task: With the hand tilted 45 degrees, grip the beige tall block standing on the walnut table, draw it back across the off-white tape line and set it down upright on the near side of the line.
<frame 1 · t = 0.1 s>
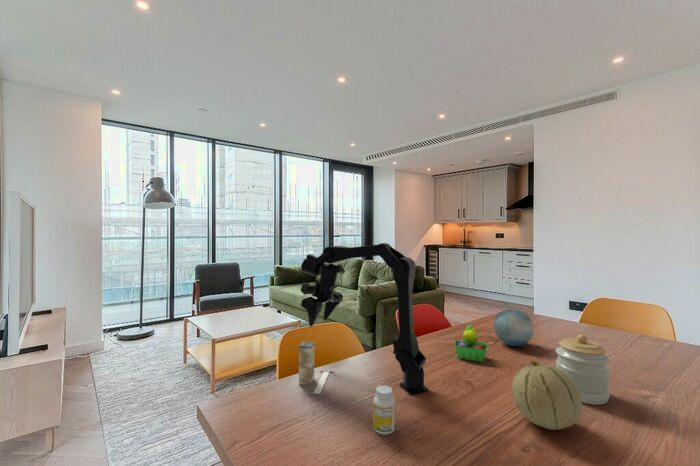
hand: (318, 322, 113), 15 cm above the table, tool pointing down, fingers open, 9 cm apart
beige tall block: (306, 381, 102), on the table
cantaloupe: (545, 425, 80), on the table
tape line: (322, 382, 101), on the table
fruit basket: (470, 357, 122), on the table
supplement bottle: (383, 429, 78), on the table
jar: (581, 394, 95), on the table
decorative ball: (513, 345, 135), on the table
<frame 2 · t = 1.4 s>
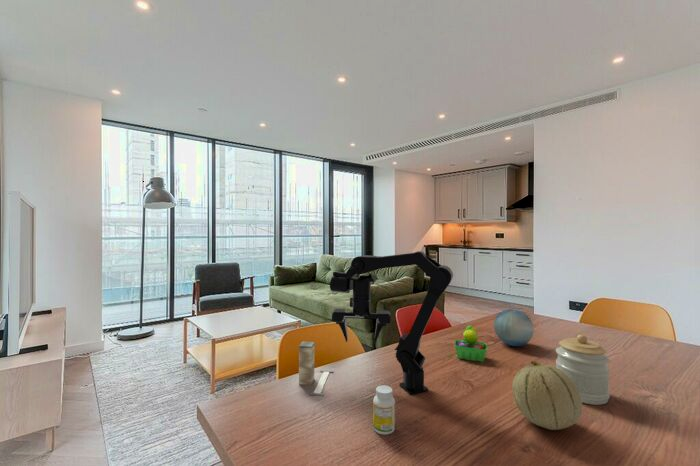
hand: (360, 342, 104), 12 cm above the table, tool pointing down, fingers open, 9 cm apart
nothing on the table moved.
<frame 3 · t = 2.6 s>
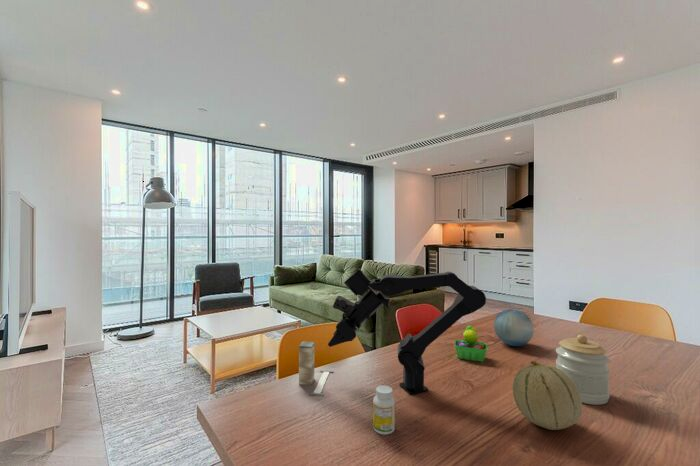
hand: (331, 340, 101), 13 cm above the table, tool tilted 45°, fingers open, 9 cm apart
nothing on the table moved.
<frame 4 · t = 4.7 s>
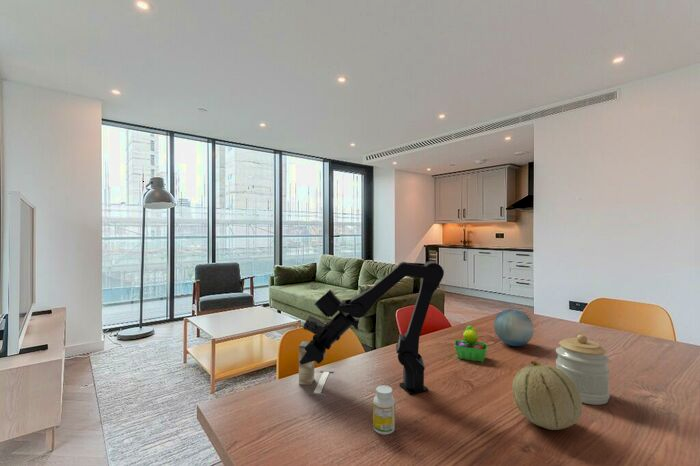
hand: (302, 360, 102), 7 cm above the table, tool tilted 45°, fingers closed on beige tall block, 4 cm apart
beige tall block: (306, 381, 102), on the table, touching gripper
everything else where it was.
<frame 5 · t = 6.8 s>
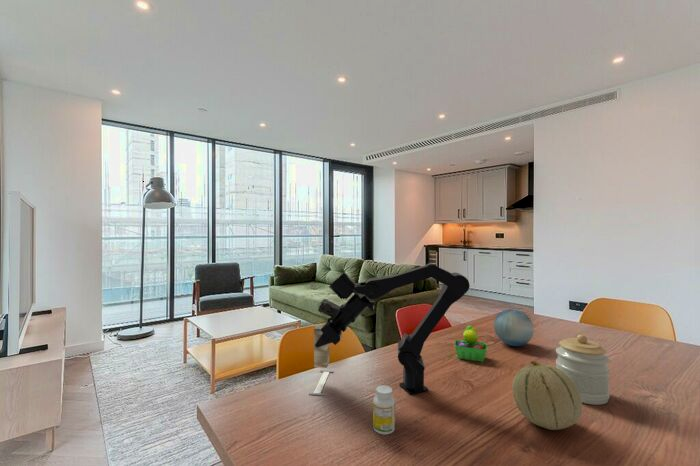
hand: (317, 343, 102), 12 cm above the table, tool tilted 45°, fingers closed on beige tall block, 4 cm apart
beige tall block: (321, 364, 101), point 6 cm above the table, touching gripper
everything else where it was.
when the fingers open (8 cm above the table, at t = 9.0 s): beige tall block drops 1 cm, on the table.
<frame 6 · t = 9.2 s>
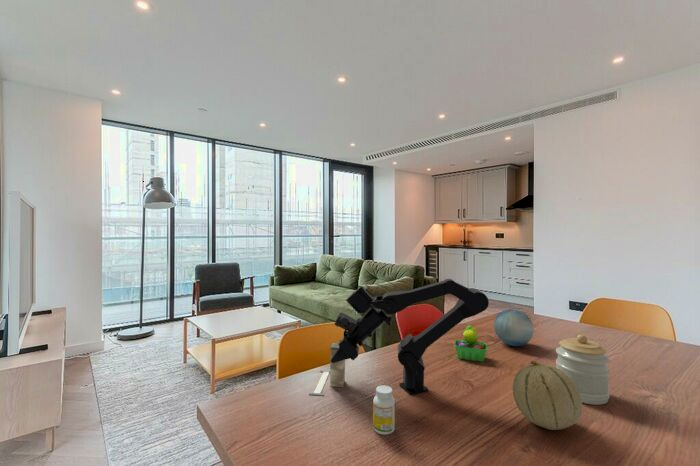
hand: (333, 357, 101), 8 cm above the table, tool tilted 45°, fingers open, 6 cm apart
beige tall block: (337, 383, 101), on the table
everything else where it was.
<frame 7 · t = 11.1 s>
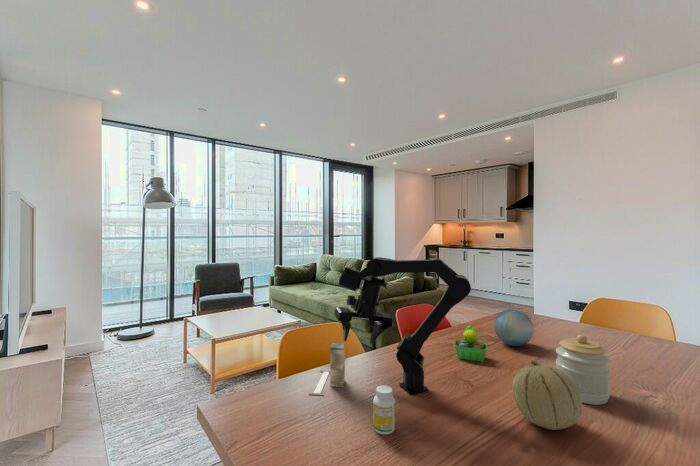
hand: (357, 342, 103), 12 cm above the table, tool pointing down, fingers open, 9 cm apart
nothing on the table moved.
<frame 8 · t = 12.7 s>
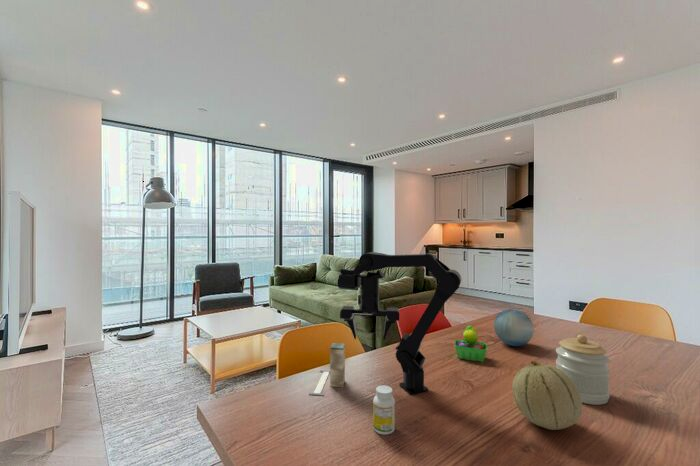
hand: (369, 339, 103), 13 cm above the table, tool pointing down, fingers open, 9 cm apart
nothing on the table moved.
at the end: beige tall block inside the target area (1.4 cm from its centre), on the table; beige tall block tilted 0°; the gripper is holding nothing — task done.
